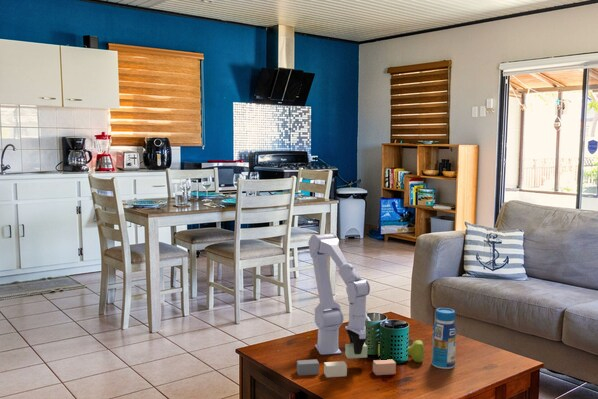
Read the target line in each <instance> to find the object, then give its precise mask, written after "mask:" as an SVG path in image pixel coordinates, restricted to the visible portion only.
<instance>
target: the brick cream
mask: <svg viewBox="0 0 598 399" xmlns="http://www.w3.org/2000/svg"><path fill="white" fill-rule="evenodd" d="M323 364H324V366H323V373H324V376H325V378H336V377H337V378H339V377H347V374H348V365H347V363H346V362H345V360H341V361H338V360H337V361H326V362H323Z"/></svg>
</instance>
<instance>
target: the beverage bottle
mask: <svg viewBox="0 0 598 399" xmlns="http://www.w3.org/2000/svg"><path fill="white" fill-rule="evenodd" d="M434 317H435V322H434V324H433V326H432V331H433V332H432V333H431V337H432V350H431V365H432V366H433V367H435V368H438V369H443V370H449V369H453V368H455V366H456V347H457V342H456V341H457V340H458V337H457V334H456V333H457V326H456V324H455V320H456V311H455V309H452V308H448V307H438V308H436V309H435V316H434Z"/></svg>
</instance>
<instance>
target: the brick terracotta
mask: <svg viewBox="0 0 598 399" xmlns="http://www.w3.org/2000/svg"><path fill="white" fill-rule="evenodd" d="M396 369H397V362H396V361H395V360H394V359H387V360H381V359H375V360H374V359H373V361H372V372H373V373H374V375H376V376H383V375H386V376H387V375H396V372H397V370H396Z"/></svg>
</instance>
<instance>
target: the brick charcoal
mask: <svg viewBox="0 0 598 399" xmlns="http://www.w3.org/2000/svg"><path fill="white" fill-rule="evenodd" d="M296 373H297V375H298V376H309V375H310V376H314V375H319V374H320V363H319V361H318V359H315V358H314V359H303V360H302V359H301V360H300V359H299V360H296Z"/></svg>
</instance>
